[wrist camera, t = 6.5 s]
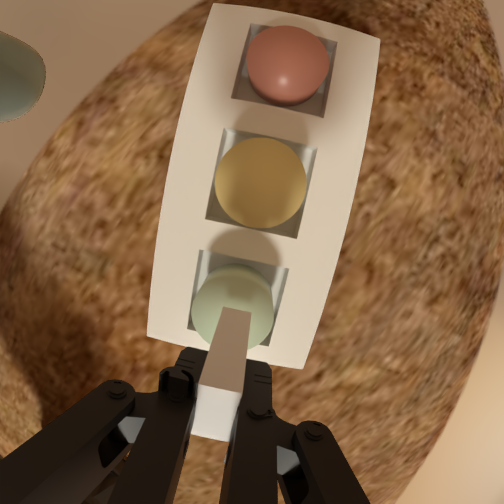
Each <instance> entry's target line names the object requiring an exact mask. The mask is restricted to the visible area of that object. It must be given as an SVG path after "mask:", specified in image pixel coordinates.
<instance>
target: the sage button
mask: <svg viewBox="0 0 504 504" xmlns="http://www.w3.org/2000/svg"><path fill="white" fill-rule="evenodd" d="M223 306H224V307H228V308H233V309H237V310H242V311H247V312H251V321H250V330H249V340H248V349H251V348H253V347H255V346H257V345H258V344H260V343H261V342H262V341H263V340H264V339H265V338H266V337H267V336H268V334H269V333H270V331H271V328H272V325H273V321H274V311H273V298H272V291H271V287H270V285H269V283H268V281H267V279H266V278H265V277H264V276H263V275H262V274H261V273H260V272H259V271H258V270H256V269H254V268H253V267H250V266H248V265H244V264H239V263H232V264H226V265H223V266H220V267H218V268H216V269H215V270H213V271H212V272H211V273H210V274H209V275H208V276H207V277H206V279H205V280H204V282H203V284H202V286H201V288H200V289H199V291H198V293H197V295H196V296H195V298H194V301H193V304H192V309H191V316H192V321H193V324H194V327H195V329H196V331H197V332H198V334H199V335H200V336H201V337H202V339H204V340H205V341H206V342H207V343H208V344H210V345H211V342H212V339H213V336H214V333H215V330H216V327H217V324H218V321H219V318H220V315H221V311H222V308H223ZM248 349H247V350H248Z"/></svg>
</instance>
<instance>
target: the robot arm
mask: <svg viewBox="0 0 504 504" xmlns="http://www.w3.org/2000/svg"><path fill="white" fill-rule="evenodd" d="M250 321H251V312H247V311H242V310H237V309H233V308H228V307H224V306H223V308H222V311H221V315H220V318H219V321H218V324H217V327H216V330H215V333H214V336H213V339H212V342H211V345H210V349H209V351H206V350H202V349H197V348H193V347H189V346H188V347H187V348H185V349H184V350H182V351H181V353H180V355H179V357H178V359H177V361H176V363H175V366H174V367H167V368H165V369H163V370H162V371H161V372H160V373H159V389H158V391H157V392H152V393H140V392H135V390H134V388H133V386H131V385H130V384H129V383H127V382H125V381H122V380H108V381H106V382H104V383H102V384H101V385H99V386H98V387H97V388H95V389H94V390H93V391H92V392H90V393H89V394H88V395H86V396H85V397H84V398H82V399H81V400H80V401H79V402H77V403H76V404H75V405H73V406H72V407H71V408H69V409H68V410H67V411H66V412H64V413H63V414H62V415H60V416H59V417H58V418H56V419H55V420H54V421H52V422H51V423H50V424H48V425H47V426H46V427H45V428H43V429H42V430H41V431H39V432H38V433H37V434H35V435H34V436H33V437H31V438H30V439H29V440H27V441H26V442H25V443H23V444H22V445H21V446H19V447H18V448H17V449H15V450H14V451H13V452H11V453H10V454H9V455H7V456H6V457H5V458H3V457H2V456H1V455H0V504H173V500H174V496H175V493H176V489H177V485H178V481H179V478H180V474H181V470H182V467H183V463H184V459H185V456H186V452H187V449H188V445H189V438H190V434H194V435H198V436H202V437H207V438H211V439H216V440H221V441H226V442H229V446H228V450H227V453H226V457H225V460H224V463H225V467H224V474H223V481H222V487H221V494H220V500H219V504H278V488H277V480H278V483H279V486H280V489H281V492H282V495H283V498H284V501H285V504H370V502H369V500H368V498H367V496H366V495H365V493H364V491H363V489H362V487H361V486H360V484H359V482H358V480H357V478H356V477H355V475H354V473H353V471H352V469H351V467H350V466H349V464H348V462H347V460H346V458H345V456H344V455H343V453H342V451H341V449H340V447H339V445H338V444H337V442H336V440H335V438H334V436H333V434H332V433H331V431H330V430H329V428H328V427H327V426H325V425H324V424H322V423H320V422H317V421H309V420H308V421H304V422H301V423H300V424H298V425H297V426H296V425H293V424H290V423H287V422H285V421H283V420H282V419H280V418H279V417H278V416H277V415H276V413H275V410H274V409H273V408H272V379H271V378H272V370H271V368H270V367H269V365H268V363H267V362H262V361H257V360H252V359H246V358H247V349H248V340H249V330H250ZM130 450H131V451H130ZM129 451H130V453H129V455H128V457H127V459H126V462H125V461H124V460H123V458H124V457H125V455H126V454H127V453H128V452H129Z"/></svg>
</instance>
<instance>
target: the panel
mask: <svg viewBox="0 0 504 504" xmlns="http://www.w3.org/2000/svg"><path fill="white" fill-rule="evenodd" d="M284 25H286V26H295V27H299V28H302V29H304V30H307V31H309V32H310V33H312V34H313V35H315V36H316V37H317V38H318V39H319V40H320V41H321V42H322V44H323V45H324V46H325V48H326V50H327V53H328V57H329V69H328V73H327V75H326V77H325V78H324V80H323V82H322V83H321V85H320V86H319V88H318V90H317V91H316V93H315V94H314V95H313V96H312V97H311V98H310V99H309V100H307V101H306V102H304V103H302V104H299V105H295V106H278V105H274V104H271V103H269V102H267V101H265V100H264V99H262V98H261V97H260V96H259V95H258V94H257V93H256V92H255V91H254V89H253V88H252V86H251V84H250V80H249V75H248V67H247V60H246V55H247V50H248V47H249V45H250V43H251V41H252V40H253V39H254V38H255V37H256V36H257V35H258V34H259V33H261V32H262V31H264V30H266V29H268V28H271V27H275V26H284ZM379 48H380V39H378V38H376V37H373V36H370V35H367V34H365V33H362V32H359V31H356V30H352V29H349V28H346V27H343V26H339V25H336V24H332V23H329V22H325V21H321V20H317V19H313V18H309V17H305V16H301V15H296V14H291V13H286V12H281V11H275V10H269V9H263V8H256V7H249V6H241V5H231V4H220V3H213V5H212V8H211V11H210V14H209V17H208V19H207V22H206V25H205V28H204V32H203V35H202V38H201V41H200V44H199V47H198V51H197V54H196V57H195V61H194V64H193V68H192V71H191V75H190V78H189V82H188V86H187V90H186V93H185V97H184V101H183V105H182V109H181V113H180V118H179V122H178V126H177V130H176V135H175V139H174V144H173V149H172V153H171V158H170V163H169V168H168V174H167V179H166V184H165V190H164V196H163V201H162V207H161V214H160V220H159V227H158V234H157V241H156V248H155V256H154V264H153V272H152V282H151V291H150V302H149V313H148V326H147V336H149V337H152V338H156V339H159V340H163V341H167V342H171V343H174V344H178V345H182V346H186V347H188V346H189V347H193V348H197V349H202V350H206V351H209V349H210V344H208V343H207V342H206V341H205V340H204V339H202V337H201V336H200V335H199V334H198V332H197V331H196V329H195V327H194V324H193V321H192V316H191V309H192V304H193V301H194V298H195V296H196V295H197V293H198V291H199V289H200V288H201V286H202V284H203V282H204V280H205V279H206V277H207V276H208V275H209V274H210V273H211V272H212V271H213V270H215V269H216V268H218V267H220V266H223V265H226V264H232V263H239V264H244V265H248V266H250V267H253V268H254V269H256V270H258V271H259V272H260V273H261V274H262V275H263V276H264V277H265V278H266V279H267V281H268V283H269V285H270V287H271V291H272V298H273V311H274V321H273V325H272V328H271V331H270V333H269V334H268V336H267V337H266V338H265V339H264V340H263V341H262V342H261V343H260V344H258V345H257V346H255V347H253V348H251V349H248V350H247V358H246V359H252V360H257V361H262V362H267V363H268V364H272V365H278V366H284V367H290V368H297V369H303V367H304V364H305V361H306V359H307V356H308V353H309V350H310V347H311V344H312V341H313V338H314V335H315V332H316V329H317V326H318V323H319V320H320V317H321V314H322V311H323V308H324V305H325V301H326V298H327V295H328V291H329V288H330V285H331V281H332V278H333V275H334V271H335V268H336V264H337V260H338V257H339V253H340V250H341V246H342V242H343V238H344V234H345V231H346V227H347V223H348V219H349V215H350V210H351V206H352V202H353V198H354V193H355V189H356V185H357V180H358V175H359V171H360V166H361V161H362V156H363V151H364V146H365V141H366V136H367V130H368V124H369V119H370V113H371V107H372V100H373V94H374V87H375V80H376V73H377V65H378V57H379ZM251 138H270V139H274V140H277V141H279V142H282V143H283V144H285V145H287V146H288V147H289V148H291V149H292V150H293V151H294V152H295V153H296V155H297V156H298V157H299V159H300V160H301V162H302V164H303V167H304V169H305V173H306V180H307V187H306V193H305V197H304V199H303V202H302V204H301V206H300V207H299V209H298V210H297V211H296V213H295V214H294V215H293V216H292V217H291V218H289V219H288V220H286V221H285V222H283V223H281V224H279V225H276V226H273V227H269V228H253V227H248V226H245V225H243V224H240V223H238V222H237V221H235V220H234V219H232V218H231V217H230V216H229V215H228V214H227V213H226V212H225V211H224V209H223V208H222V206H221V205H220V203H219V201H218V198H217V195H216V191H215V174H216V170H217V167H218V165H219V163H220V161H221V159H222V157H223V156H224V155H225V154H226V152H227V151H228V150H229V149H231V148H232V147H233V146H235V145H236V144H238V143H240V142H242V141H244V140H247V139H251Z"/></svg>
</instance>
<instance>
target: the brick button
mask: <svg viewBox="0 0 504 504" xmlns="http://www.w3.org/2000/svg"><path fill="white" fill-rule="evenodd" d="M246 60H247V67H248V75H249V80H250V84H251V86H252V88H253V89H254V91H255V92H256V93H257V94H258V95H259V96H260V97H261V98H262V99H264V100H265V101H267V102H269V103H271V104H274V105H278V106H295V105H299V104H302V103H304V102H306V101H307V100H309V99H310V98H311V97H312V96H313V95H314V94H315V93H316V91H317V90H318V88H319V86H320V85H321V83H322V82H323V80H324V78H325V77H326V75H327V73H328V69H329V57H328V53H327V50H326V48H325V46H324V45H323V44H322V42H321V41H320V40H319V39H318V38H317V37H316V36H315V35H313V34H312V33H310V32H309V31H307V30H304V29H302V28H299V27H295V26H286V25H284V26H275V27H271V28H268V29H266V30H264V31H262V32H261V33H259V34H258V35H257V36H256V37H255V38H254V39H253V40H252V41H251V43H250V45H249V47H248V50H247V55H246Z"/></svg>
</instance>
